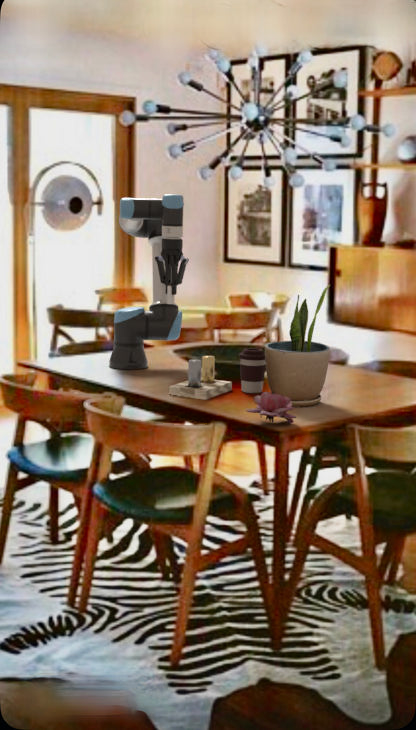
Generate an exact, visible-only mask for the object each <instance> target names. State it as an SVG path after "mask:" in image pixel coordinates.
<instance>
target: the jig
mask: <svg viewBox="0 0 416 730" xmlns="http://www.w3.org/2000/svg"><path fill="white" fill-rule="evenodd" d="M201 381H202V377H201ZM232 385H233V381H228V380H218V379H214V383H213V384H207V383H201V388H198V389H197V388H190V387H188V380H186V381H181V382H179V383H175V384H172V385H170V386H169V388H168V389H169V394H171V395H170V396H173V395H177V396H176V397H181V396H183V397H182V398H189V397H190V399H197V400H199V399H200V400H204V401H205V400H209V399H211V398H214V397H216V396H219V395H222V394H224V393H228V392H230V391H231V392H232V389H233V386H232ZM169 394H168V395H169Z"/></svg>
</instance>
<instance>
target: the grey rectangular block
mask: <svg viewBox="0 0 416 730" xmlns="http://www.w3.org/2000/svg"><path fill="white" fill-rule="evenodd" d="M187 368H188V369H187V371H188V374H187V375H188V376H187V381H188V387H190V388H197V389H198V388H201V378H202V359H196V358H195V359H189V360H188V367H187Z"/></svg>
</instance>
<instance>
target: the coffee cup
mask: <svg viewBox="0 0 416 730" xmlns="http://www.w3.org/2000/svg"><path fill="white" fill-rule="evenodd" d="M238 358H239V360H240V363H239V368H240V369H239V371H240V374H239V375H240V380H241V381H240V384H241V392H243V393H246V394H259V393H262V392H263V389H264V388H263V387H264V381H265V375H266V374H265V372H266V362H265V351H264V350H263V349H262V348H257V347H249V348H247V347H245V348H243V350H242V352H239V353H238Z"/></svg>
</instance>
